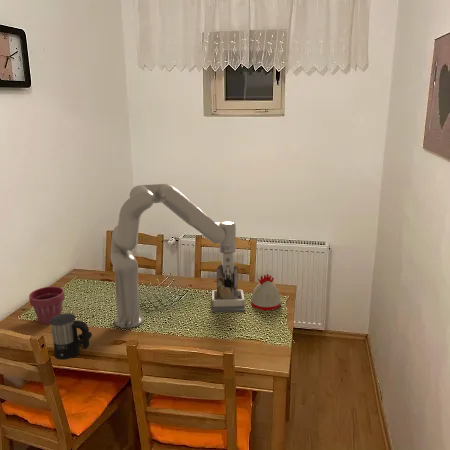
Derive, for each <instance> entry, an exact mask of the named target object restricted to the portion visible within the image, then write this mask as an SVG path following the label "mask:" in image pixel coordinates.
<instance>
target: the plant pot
mask: <svg viewBox="0 0 450 450" xmlns="http://www.w3.org/2000/svg"><path fill="white" fill-rule="evenodd" d="M65 298H66V297H65V290H64V288H62V287H59V286H45V287H41V288H37V289H35V290H33V291H32V292H30V293H29V295H28V300H29V305H30V306H31V307H33V309H34V312H35V315H36V317H37V319H38V322H39V323H40V324H45V325H46V324H47V325H49V324H50V319H51V318H53V317H54V316H57V315H60V314H62V310H63V302H64V300H65Z"/></svg>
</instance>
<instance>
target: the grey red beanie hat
mask: <svg viewBox="0 0 450 450" xmlns="http://www.w3.org/2000/svg"><path fill="white" fill-rule="evenodd" d="M274 278H275V277H274V276H273V277H272V276H271V275H269V274H268V273H266V274H264V275H260V279H259V278H258V282H259V283H258V284H257V285H256V286H255V287H254V289H253V292H252V295H251V298H250V299H251V302H250V304H251V306H252V307H253V308H254V309H256V308H257V310H260V311H273V310H272V309H274V310H277V309H279V308H280V307H281V295H280V292H279V290H278V288H277V286H276V284H274V283H273V282H274V280H275V279H274ZM278 307H279V308H278ZM276 308H277V309H276Z"/></svg>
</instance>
